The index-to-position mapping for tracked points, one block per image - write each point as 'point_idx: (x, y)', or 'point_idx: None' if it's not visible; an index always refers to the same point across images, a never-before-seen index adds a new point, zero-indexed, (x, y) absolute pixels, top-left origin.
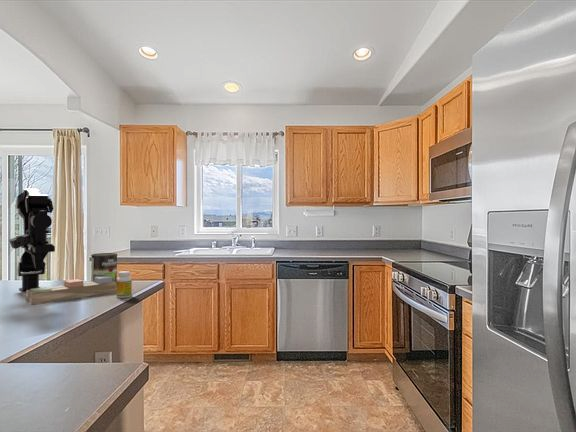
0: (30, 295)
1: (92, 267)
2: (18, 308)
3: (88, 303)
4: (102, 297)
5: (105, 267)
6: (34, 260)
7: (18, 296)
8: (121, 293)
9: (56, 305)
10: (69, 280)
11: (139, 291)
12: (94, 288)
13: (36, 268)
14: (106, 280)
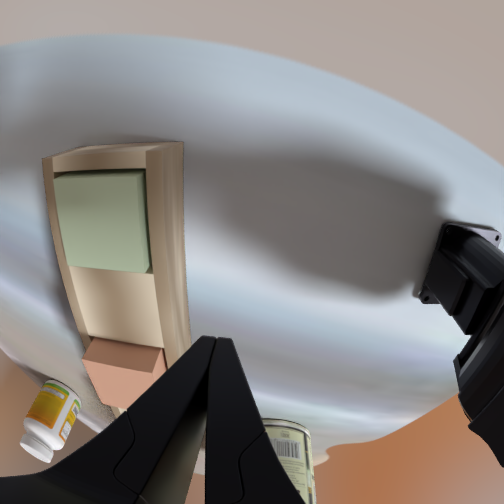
0: (77, 152)
1: None
2: (55, 87)
3: (15, 304)
4: (75, 367)
5: None
6: (142, 415)
7: (361, 158)
8: (40, 390)
9: (23, 223)
10: (142, 385)
11: None
12: None
13: (202, 340)
14: None
